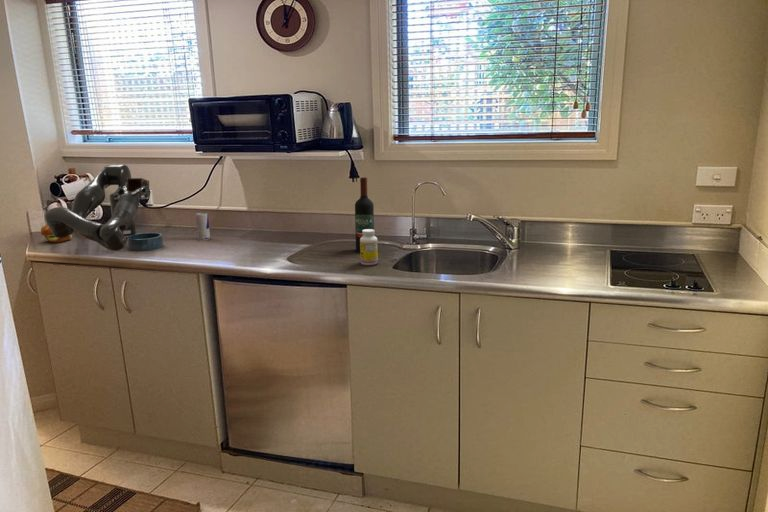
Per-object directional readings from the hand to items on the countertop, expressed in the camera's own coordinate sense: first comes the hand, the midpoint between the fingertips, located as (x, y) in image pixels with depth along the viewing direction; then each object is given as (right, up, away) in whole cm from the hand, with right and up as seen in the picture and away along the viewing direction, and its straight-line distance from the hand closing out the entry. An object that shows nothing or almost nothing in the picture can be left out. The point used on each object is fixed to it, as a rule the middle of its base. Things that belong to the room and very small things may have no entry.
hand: (137, 182), depth 235 cm
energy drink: (+20, -23, +23) cm, 38 cm away
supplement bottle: (+96, -33, -19) cm, 103 cm away
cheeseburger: (-46, -24, +24) cm, 57 cm away
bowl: (0, -27, +8) cm, 28 cm away
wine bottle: (+93, -28, +1) cm, 98 cm away
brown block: (0, -2, +5) cm, 5 cm away
